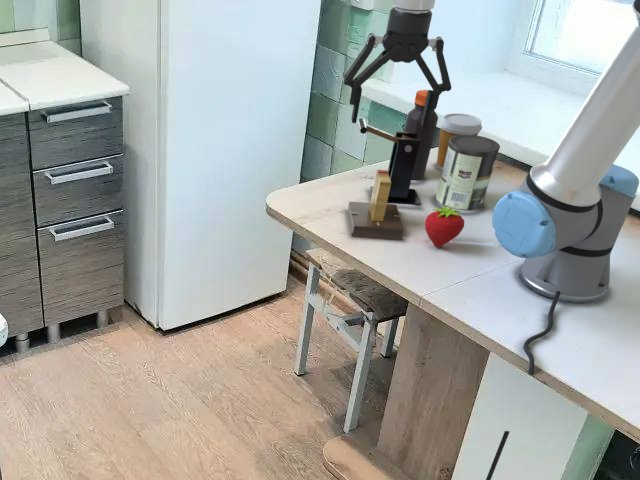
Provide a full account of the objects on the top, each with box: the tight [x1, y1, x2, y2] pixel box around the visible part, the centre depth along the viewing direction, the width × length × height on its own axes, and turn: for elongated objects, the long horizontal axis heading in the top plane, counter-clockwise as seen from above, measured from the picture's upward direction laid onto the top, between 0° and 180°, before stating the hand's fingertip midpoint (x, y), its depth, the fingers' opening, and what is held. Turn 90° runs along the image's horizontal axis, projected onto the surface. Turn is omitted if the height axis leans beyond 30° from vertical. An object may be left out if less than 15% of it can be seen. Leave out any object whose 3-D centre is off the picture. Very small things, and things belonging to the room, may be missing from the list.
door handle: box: [357, 118, 410, 143], centre depth 172 cm, size 13×6×2 cm, turn 83°
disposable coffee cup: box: [436, 112, 483, 169], centre depth 192 cm, size 10×10×12 cm
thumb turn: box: [369, 169, 391, 221], centre depth 166 cm, size 6×2×9 cm, turn 173°
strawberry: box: [424, 204, 465, 249], centre depth 159 cm, size 6×8×10 cm
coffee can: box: [435, 135, 501, 211], centre depth 175 cm, size 10×10×14 cm
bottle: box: [403, 89, 439, 182], centre depth 184 cm, size 7×7×20 cm
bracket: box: [369, 130, 421, 206], centre depth 176 cm, size 10×8×15 cm
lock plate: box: [347, 201, 405, 241], centre depth 169 cm, size 12×10×3 cm
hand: (388, 123), depth 160 cm, fingers open, 13 cm apart
